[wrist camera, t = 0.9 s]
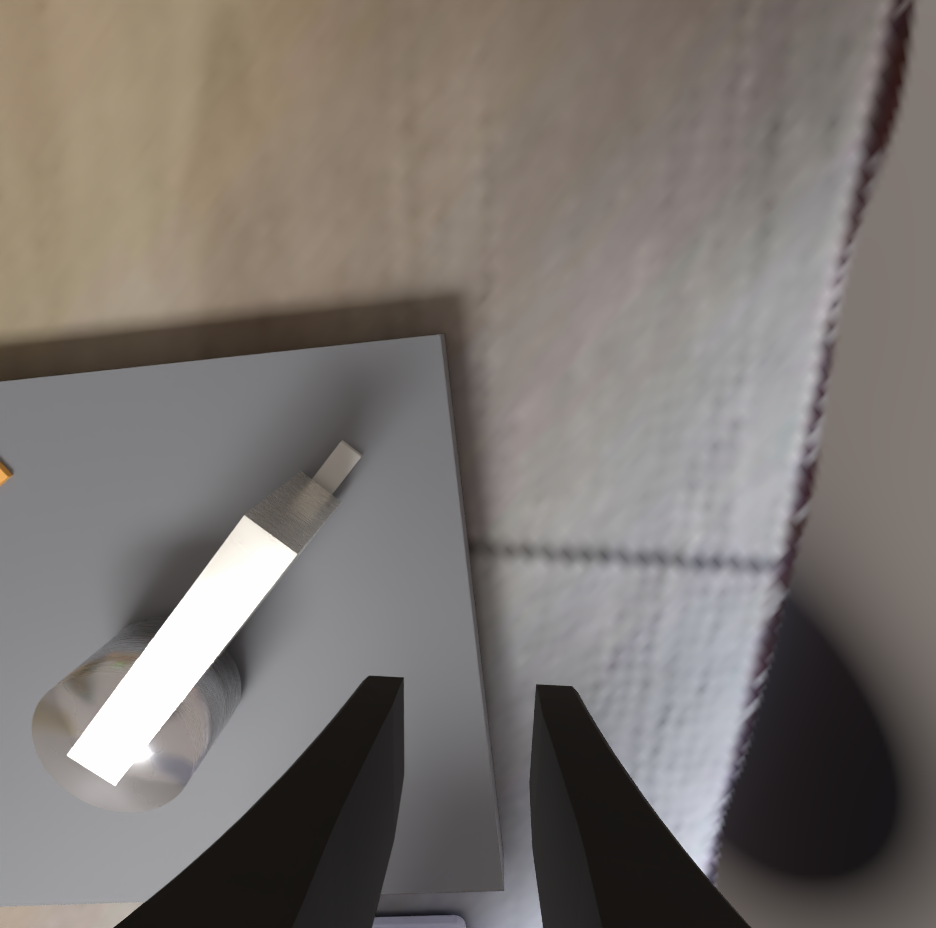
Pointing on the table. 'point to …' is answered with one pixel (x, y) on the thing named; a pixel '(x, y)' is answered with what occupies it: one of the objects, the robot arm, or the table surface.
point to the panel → (273, 623)
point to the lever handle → (172, 669)
